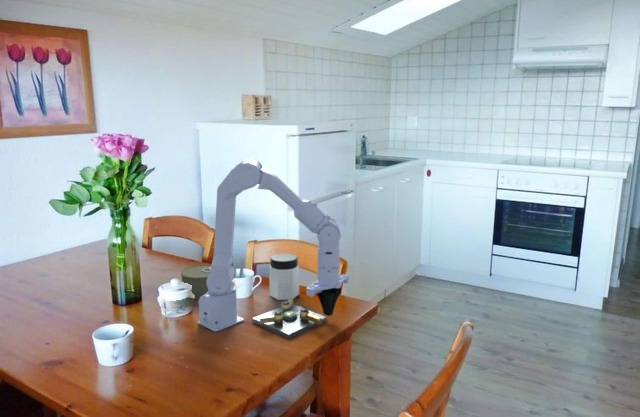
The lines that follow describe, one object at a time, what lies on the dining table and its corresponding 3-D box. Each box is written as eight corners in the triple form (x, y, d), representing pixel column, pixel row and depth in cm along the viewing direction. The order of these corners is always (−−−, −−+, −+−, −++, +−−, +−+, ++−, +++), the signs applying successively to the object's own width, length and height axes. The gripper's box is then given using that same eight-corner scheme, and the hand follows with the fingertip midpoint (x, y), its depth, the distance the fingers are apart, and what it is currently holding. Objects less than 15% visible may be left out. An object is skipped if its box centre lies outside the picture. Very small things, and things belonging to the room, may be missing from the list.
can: (175, 291, 158) (174, 269, 156) (211, 282, 165) (210, 262, 164) (192, 302, 149) (191, 280, 147) (229, 293, 156) (228, 272, 154)
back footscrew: (289, 312, 138) (289, 304, 137) (280, 312, 138) (280, 303, 138) (295, 304, 143) (295, 296, 143) (287, 303, 144) (287, 295, 143)
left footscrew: (282, 318, 134) (281, 310, 133) (284, 322, 132) (283, 313, 131) (259, 321, 132) (259, 312, 132) (261, 325, 130) (260, 316, 130)
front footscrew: (297, 318, 134) (297, 309, 134) (304, 315, 136) (304, 307, 136) (317, 326, 130) (317, 317, 129) (323, 323, 131) (323, 314, 131)
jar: (270, 301, 150) (269, 262, 147) (269, 291, 158) (268, 253, 155) (300, 299, 151) (300, 260, 148) (298, 289, 159) (297, 252, 156)
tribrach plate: (288, 338, 126) (288, 328, 125) (252, 322, 135) (252, 312, 135) (326, 321, 136) (326, 311, 135) (290, 307, 145) (290, 298, 145)
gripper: (320, 276, 125) (320, 327, 128) (357, 262, 136) (356, 310, 138) (300, 269, 130) (300, 319, 133) (337, 257, 140) (337, 303, 143)
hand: (328, 314), depth 136 cm, fingers closed
